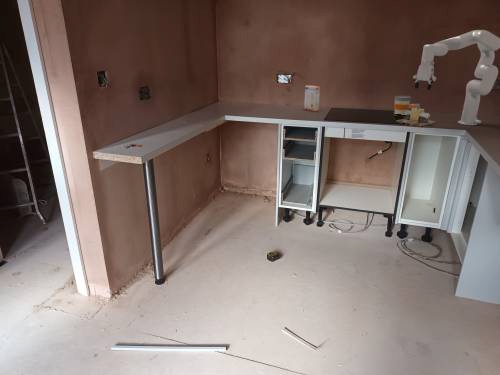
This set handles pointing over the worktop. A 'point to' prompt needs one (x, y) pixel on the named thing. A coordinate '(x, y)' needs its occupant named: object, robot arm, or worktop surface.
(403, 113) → the reusable coffee cup
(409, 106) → the valve lever
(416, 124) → the valve board
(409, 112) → the ball valve
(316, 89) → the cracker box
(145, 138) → the worktop surface
